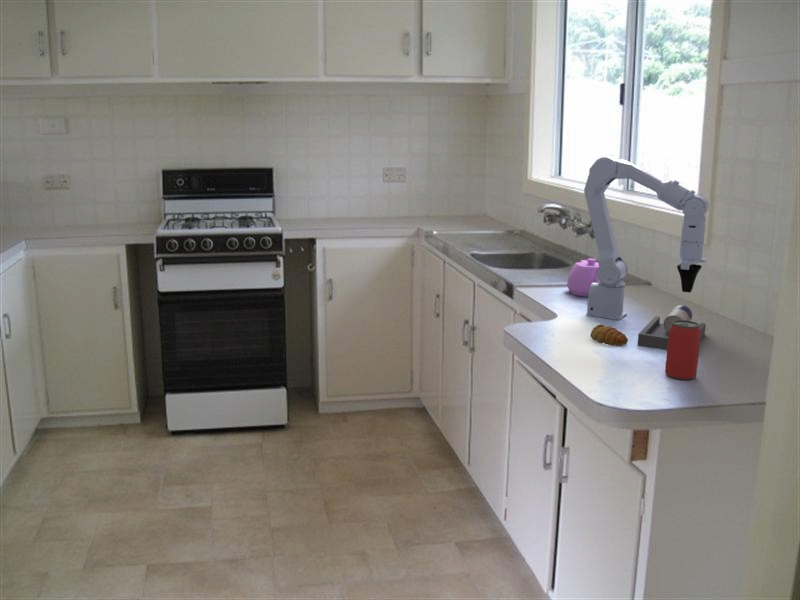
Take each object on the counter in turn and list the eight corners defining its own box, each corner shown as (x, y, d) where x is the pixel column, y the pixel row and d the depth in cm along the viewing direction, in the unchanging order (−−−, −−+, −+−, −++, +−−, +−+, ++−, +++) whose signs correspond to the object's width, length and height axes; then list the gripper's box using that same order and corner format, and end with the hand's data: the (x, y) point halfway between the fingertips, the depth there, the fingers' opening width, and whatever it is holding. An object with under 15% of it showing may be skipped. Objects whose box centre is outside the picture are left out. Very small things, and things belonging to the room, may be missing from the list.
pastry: (634, 345, 203) (635, 330, 202) (616, 349, 199) (617, 334, 199) (604, 336, 211) (605, 321, 210) (586, 340, 207) (587, 325, 206)
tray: (637, 345, 202) (638, 333, 201) (654, 326, 219) (655, 316, 219) (691, 354, 196) (692, 342, 196) (704, 334, 214) (705, 323, 213)
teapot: (577, 302, 245) (579, 265, 243) (560, 287, 265) (562, 253, 262) (620, 302, 246) (624, 266, 244) (600, 287, 266) (603, 253, 263)
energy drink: (694, 323, 216) (686, 333, 206) (673, 325, 219) (665, 336, 209) (690, 303, 216) (682, 313, 206) (669, 306, 219) (660, 316, 208)
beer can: (659, 371, 183) (665, 319, 180) (688, 371, 184) (694, 319, 181) (671, 381, 177) (677, 327, 174) (701, 380, 177) (707, 327, 175)
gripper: (703, 246, 208) (697, 299, 211) (712, 239, 220) (706, 288, 224) (674, 244, 211) (669, 295, 214) (685, 236, 224) (680, 285, 227)
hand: (686, 291), depth 219 cm, fingers closed
